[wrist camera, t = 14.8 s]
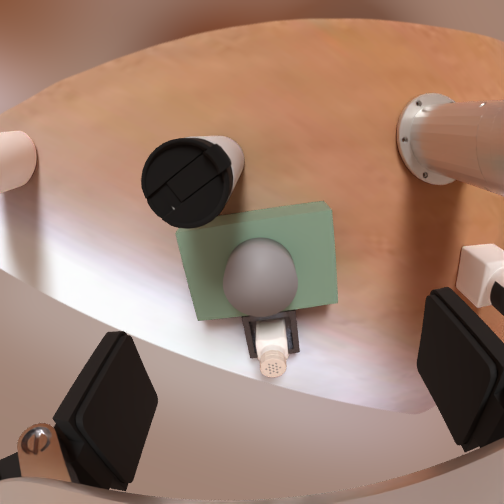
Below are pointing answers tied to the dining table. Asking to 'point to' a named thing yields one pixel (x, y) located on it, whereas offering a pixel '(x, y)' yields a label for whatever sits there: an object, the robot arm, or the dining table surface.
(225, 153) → the travel mug
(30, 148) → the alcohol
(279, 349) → the pepper shaker
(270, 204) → the dining table surface
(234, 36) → the dining table surface
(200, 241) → the green slab with dome
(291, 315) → the dark brown square tray
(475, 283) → the medicine bottle
